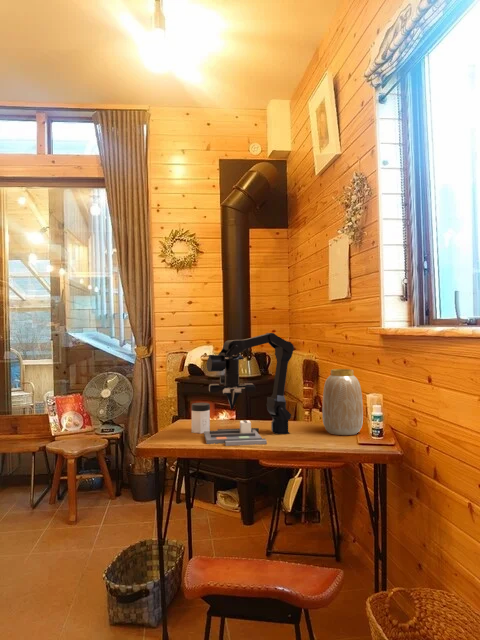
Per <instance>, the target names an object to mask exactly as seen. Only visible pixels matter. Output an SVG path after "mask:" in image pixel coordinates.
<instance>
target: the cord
mask: <svg viewBox="0 0 480 640" xmlns="http://www.w3.org/2000/svg"><path fill="white" fill-rule="evenodd" d="M251 429H252V430H256V431H257V432H258V433H259V432H260V428H259V427H251ZM220 430H240V428H220V429H219V428H218V429H217V430H216V431H220Z"/></svg>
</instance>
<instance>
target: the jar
mask: <svg viewBox="0 0 480 640" xmlns="http://www.w3.org/2000/svg"><path fill="white" fill-rule="evenodd" d="M210 405H211V403H209V402H192V404H191V433H195V434H204V431H211V430H210V429H211V419H210V418H211V417H210V415H211V414H210V413H211V412H210V411H211V406H210Z"/></svg>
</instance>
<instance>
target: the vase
mask: <svg viewBox="0 0 480 640" xmlns="http://www.w3.org/2000/svg"><path fill="white" fill-rule="evenodd" d="M361 387H362V386H361V384H360V381H359V379H358V377H356V376H355V375H354V370H353V369H349V368H348V369H345V368H333V369H330V375H329V376H328V377H327V378H326V379H325V382H324V386H323V392H322V408H321V409H322V412H321V413H322V423H323V426H324V428H325V430H326V432H327V433H329V434H332V435H338V436H353V435H354V436H355V435H358V434H359V433H360V431H361V429H362V427H363V421H364V403H363V402H364V401H363V394H362V388H361ZM358 432H359V433H358ZM357 433H358V434H357Z"/></svg>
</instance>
